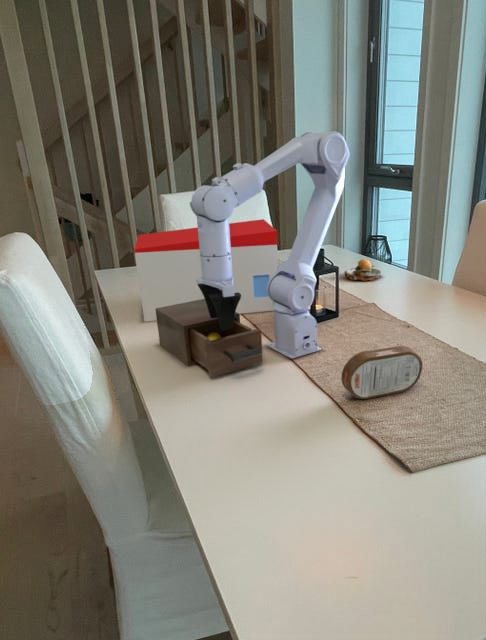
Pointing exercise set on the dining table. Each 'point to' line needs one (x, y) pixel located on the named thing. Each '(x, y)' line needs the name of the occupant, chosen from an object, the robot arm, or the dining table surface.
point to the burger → (363, 271)
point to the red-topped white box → (185, 266)
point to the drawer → (225, 347)
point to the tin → (381, 372)
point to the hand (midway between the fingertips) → (221, 323)
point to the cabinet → (182, 326)
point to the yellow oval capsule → (213, 336)
